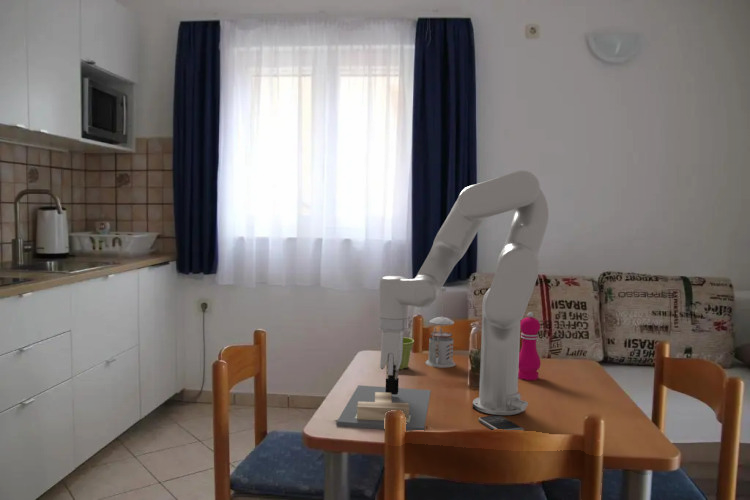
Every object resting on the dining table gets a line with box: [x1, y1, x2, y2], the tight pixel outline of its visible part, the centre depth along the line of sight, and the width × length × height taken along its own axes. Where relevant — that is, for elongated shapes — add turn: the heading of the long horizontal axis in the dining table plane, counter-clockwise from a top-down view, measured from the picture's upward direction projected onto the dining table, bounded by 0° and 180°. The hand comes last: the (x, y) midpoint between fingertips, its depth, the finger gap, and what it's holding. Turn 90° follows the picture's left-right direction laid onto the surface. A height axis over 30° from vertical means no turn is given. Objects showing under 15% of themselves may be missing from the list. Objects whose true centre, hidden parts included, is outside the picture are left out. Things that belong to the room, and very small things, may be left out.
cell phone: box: [478, 414, 525, 431], centre depth 148 cm, size 6×11×1 cm, turn 22°
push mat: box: [336, 384, 431, 431], centre depth 159 cm, size 30×20×1 cm, turn 172°
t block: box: [357, 392, 409, 421], centre depth 153 cm, size 12×12×3 cm
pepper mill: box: [518, 311, 541, 381], centre depth 191 cm, size 7×7×20 cm
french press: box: [425, 286, 456, 368], centre depth 205 cm, size 10×12×25 cm
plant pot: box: [398, 336, 415, 370], centre depth 200 cm, size 9×9×9 cm
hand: (391, 393), depth 166 cm, fingers closed
